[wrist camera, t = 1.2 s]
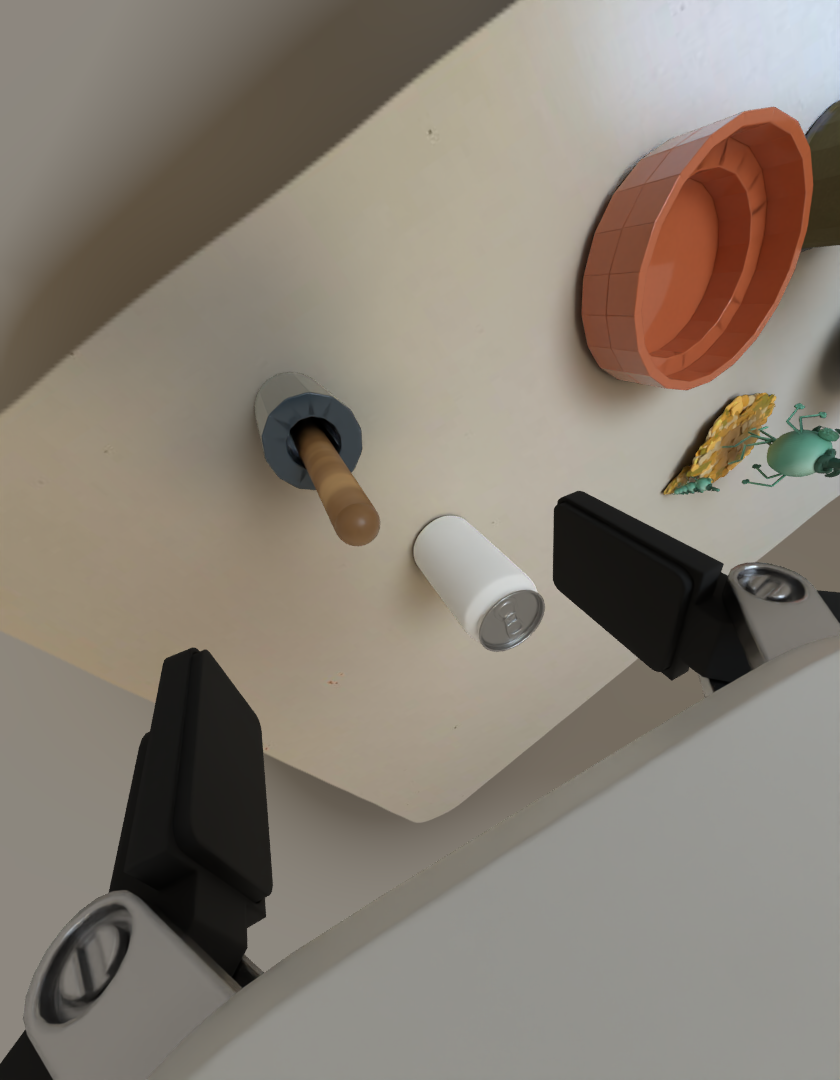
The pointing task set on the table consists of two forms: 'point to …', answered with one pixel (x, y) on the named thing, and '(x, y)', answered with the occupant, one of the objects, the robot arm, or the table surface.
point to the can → (478, 583)
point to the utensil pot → (295, 401)
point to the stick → (336, 485)
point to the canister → (825, 181)
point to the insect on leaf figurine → (738, 438)
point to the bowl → (698, 250)
